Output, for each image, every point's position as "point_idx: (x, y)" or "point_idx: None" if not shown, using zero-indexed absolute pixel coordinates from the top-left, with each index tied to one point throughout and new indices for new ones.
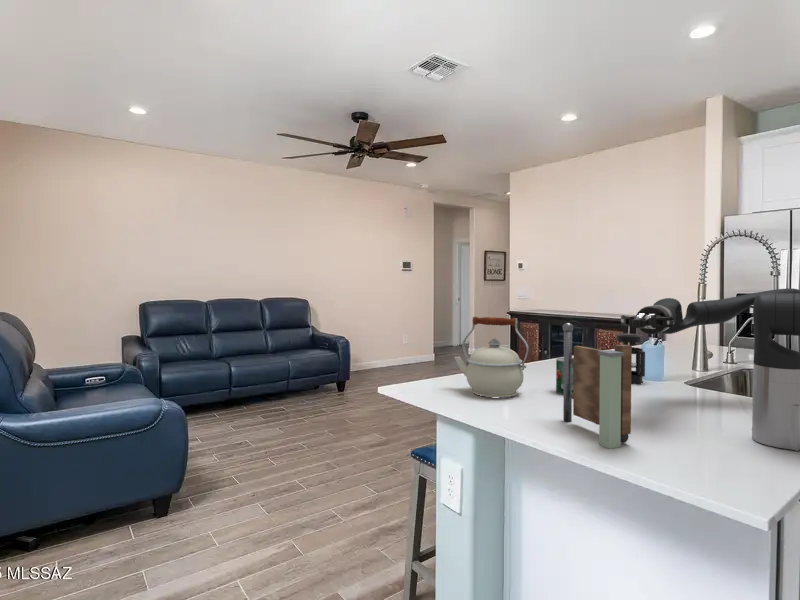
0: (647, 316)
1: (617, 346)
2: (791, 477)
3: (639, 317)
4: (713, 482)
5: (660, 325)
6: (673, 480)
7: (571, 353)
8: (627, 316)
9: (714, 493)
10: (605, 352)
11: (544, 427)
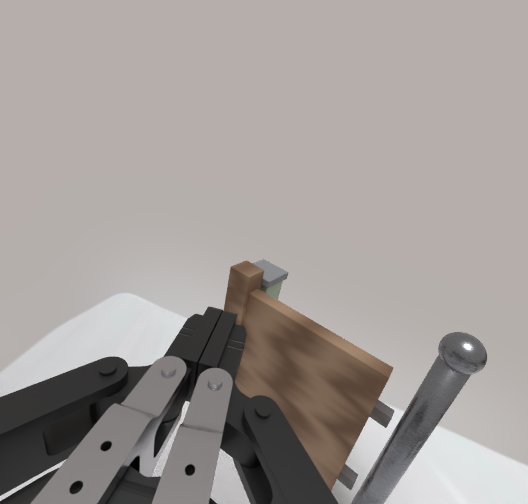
0: (141, 412)
1: (257, 268)
2: (6, 370)
3: (207, 385)
4: (131, 331)
5: (51, 435)
6: (173, 325)
7: (406, 413)
8: (305, 487)
9: (143, 313)
10: (272, 264)
11: (355, 449)
